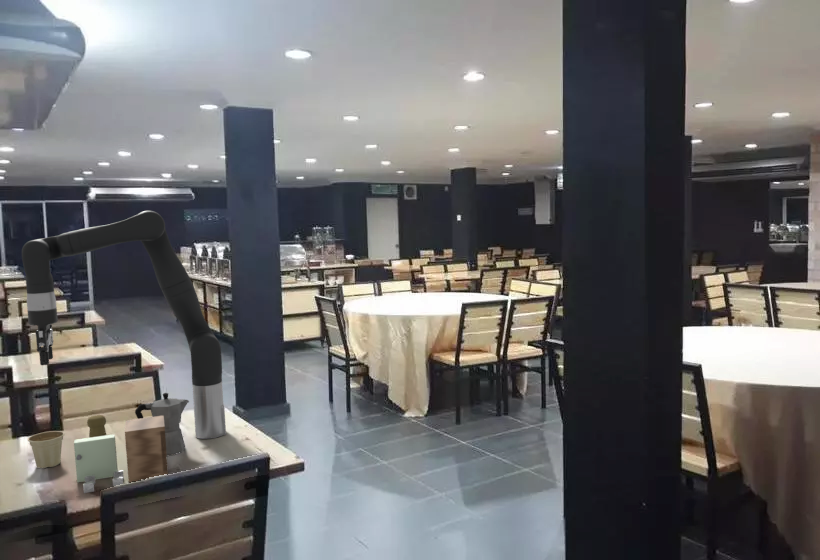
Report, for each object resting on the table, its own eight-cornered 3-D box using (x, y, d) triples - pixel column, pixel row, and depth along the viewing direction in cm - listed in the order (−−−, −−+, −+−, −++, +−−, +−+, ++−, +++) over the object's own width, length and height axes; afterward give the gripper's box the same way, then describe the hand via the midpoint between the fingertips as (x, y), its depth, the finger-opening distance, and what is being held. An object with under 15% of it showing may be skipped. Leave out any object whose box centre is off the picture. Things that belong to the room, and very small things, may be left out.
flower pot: (39, 459, 198) (36, 431, 197) (72, 457, 199) (69, 429, 198) (23, 471, 189) (21, 442, 188) (58, 469, 190) (55, 440, 189)
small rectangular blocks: (123, 478, 182) (123, 470, 181) (123, 486, 176) (122, 477, 176) (85, 484, 178) (84, 476, 178) (83, 493, 173) (83, 484, 172)
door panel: (117, 472, 186) (114, 434, 185) (117, 477, 183) (114, 438, 182) (78, 478, 183) (74, 439, 182) (76, 483, 179) (73, 444, 178)
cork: (101, 454, 201) (98, 419, 199) (83, 454, 202) (80, 418, 201) (114, 447, 206) (111, 413, 205) (96, 447, 208) (93, 412, 207)
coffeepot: (189, 442, 209) (186, 386, 208) (194, 451, 201) (190, 393, 199) (137, 451, 203) (132, 393, 201) (139, 461, 194) (135, 401, 192)
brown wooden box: (166, 462, 193) (163, 415, 191) (168, 475, 182) (164, 426, 181) (129, 468, 189) (125, 420, 187) (128, 482, 179) (124, 431, 177)
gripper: (53, 309, 190) (58, 365, 191) (59, 303, 203) (63, 356, 205) (23, 311, 187) (28, 368, 189) (31, 305, 200) (36, 358, 202)
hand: (46, 362), depth 197 cm, fingers open, 8 cm apart
